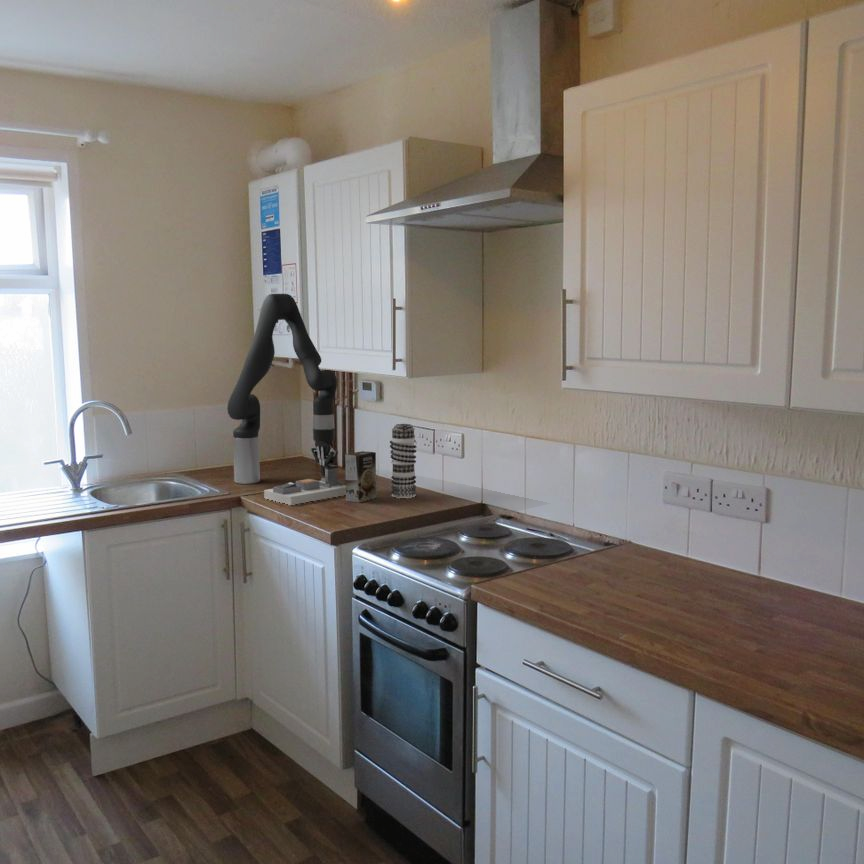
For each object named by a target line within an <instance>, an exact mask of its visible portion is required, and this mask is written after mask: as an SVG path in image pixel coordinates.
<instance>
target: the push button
mask: <svg viewBox="0 0 864 864" xmlns="http://www.w3.org/2000/svg"><path fill="white" fill-rule="evenodd" d="M306 479H307V480H305V479H300V480H301V481H299V480H298V481H299V482H303V483H309V482H315V480H316V479H313V480H310V479H311V478H306Z"/></svg>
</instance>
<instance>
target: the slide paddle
mask: <svg viewBox="0 0 864 864" xmlns="http://www.w3.org/2000/svg"><path fill="white" fill-rule="evenodd" d="M338 468H339V467H338V465H337V464H330V465H329V466H324V469H325V476H324V478H325V483H326V484H330V486H332V485H337V481H338Z"/></svg>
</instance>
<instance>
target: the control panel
mask: <svg viewBox="0 0 864 864" xmlns="http://www.w3.org/2000/svg"><path fill="white" fill-rule="evenodd" d="M307 479H308V478H305V479H304V480H307ZM309 479H310V480H315V482H309V483H303V482H299V481H301V480H302V479H300V480H295V483H296V487H291V488H285V489H282V488H278V486H279V485H276V486H273V487H272V488H268V489H264V490H263V494H264V495H263V499H264V498H265V499H264V500H267V499H269V500H268V501H271V500H273V501H272V502H275V501H276V502H275V503H279V502H280V503H279V504H282V503H285V504H284V505H286V504H288V505H287V506H290V505H293V506H296V505H295V504H298V505H300V504H299V503H304V504H306V503H305V502H309V501H314V502H316V501H315V500H320V499H325V500H327V499H326V498H330V499H333V498H332V497H336V498H339V497H338V496H341V497H345V496H344V495H346V484H344V482H343V481H340V480H337V485H332V486H330V484H326V483H325V477H321V478H320V480H316V479H312V478H309ZM320 501H321V500H320ZM309 503H310V502H309Z"/></svg>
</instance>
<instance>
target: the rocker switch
mask: <svg viewBox="0 0 864 864" xmlns="http://www.w3.org/2000/svg"><path fill="white" fill-rule="evenodd" d="M277 486H278V488H282V489H285V488H291V487H296V482H287V483H284V484H281V485H277Z"/></svg>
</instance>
